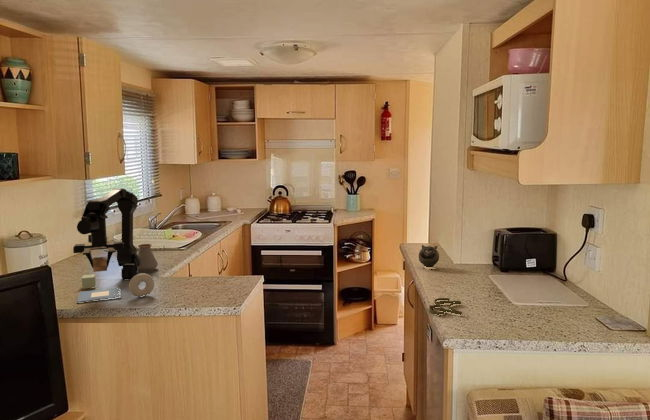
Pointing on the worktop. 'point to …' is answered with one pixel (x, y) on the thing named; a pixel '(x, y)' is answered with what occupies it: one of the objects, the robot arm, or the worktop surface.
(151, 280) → the donut
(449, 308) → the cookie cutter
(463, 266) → the worktop surface
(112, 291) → the board
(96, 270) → the walnut cube
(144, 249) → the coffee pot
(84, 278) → the sage cube
